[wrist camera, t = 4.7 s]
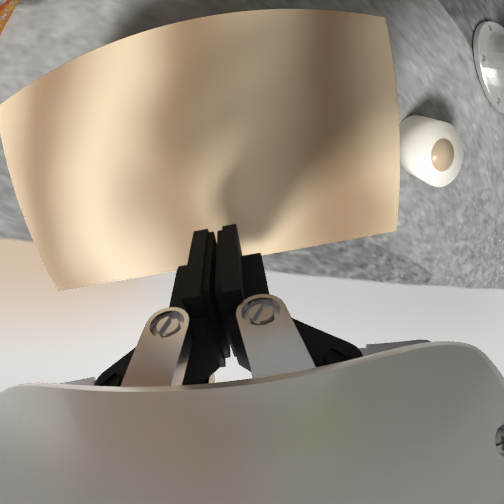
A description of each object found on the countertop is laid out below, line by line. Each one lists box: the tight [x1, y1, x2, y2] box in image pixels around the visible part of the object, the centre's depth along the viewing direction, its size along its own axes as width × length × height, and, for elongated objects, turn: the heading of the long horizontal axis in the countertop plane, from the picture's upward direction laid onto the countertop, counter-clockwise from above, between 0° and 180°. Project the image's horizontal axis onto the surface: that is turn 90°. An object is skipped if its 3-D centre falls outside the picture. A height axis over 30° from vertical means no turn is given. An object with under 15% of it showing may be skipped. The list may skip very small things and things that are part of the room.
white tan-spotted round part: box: [399, 115, 464, 187], centre depth 20 cm, size 6×6×4 cm
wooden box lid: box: [0, 9, 400, 291], centre depth 11 cm, size 19×11×1 cm, turn 98°
